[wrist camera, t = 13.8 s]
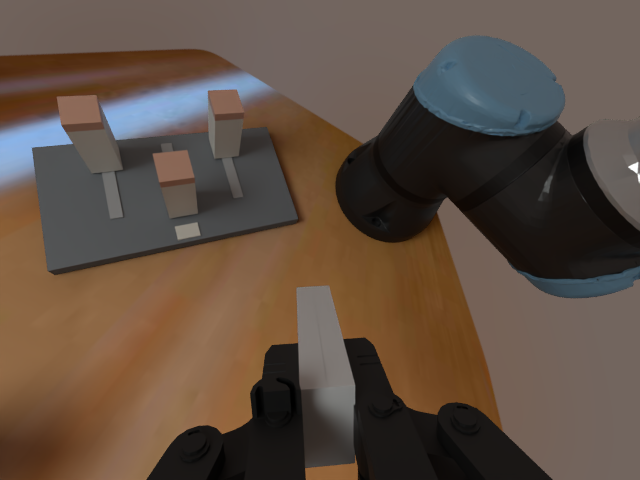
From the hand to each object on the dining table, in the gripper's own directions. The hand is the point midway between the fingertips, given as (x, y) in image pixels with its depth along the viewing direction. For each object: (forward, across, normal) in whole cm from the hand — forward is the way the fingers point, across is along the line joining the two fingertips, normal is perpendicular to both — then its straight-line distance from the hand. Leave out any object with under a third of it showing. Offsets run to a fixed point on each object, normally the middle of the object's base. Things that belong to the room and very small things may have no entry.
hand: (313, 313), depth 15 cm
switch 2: (+30, -9, +8) cm, 32 cm away
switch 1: (+24, -14, +2) cm, 28 cm away
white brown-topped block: (+25, -21, +7) cm, 34 cm away
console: (+27, -15, +3) cm, 31 cm away
